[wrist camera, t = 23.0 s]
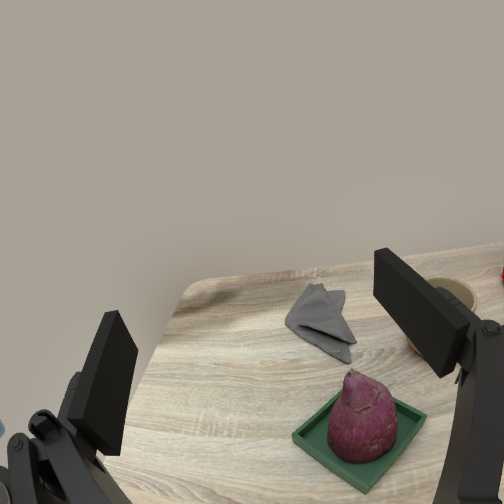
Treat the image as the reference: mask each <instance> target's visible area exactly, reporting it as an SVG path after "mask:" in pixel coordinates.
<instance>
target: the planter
mask: <svg viewBox="0 0 504 504" xmlns="http://www.w3.org/2000/svg"><path fill="white" fill-rule="evenodd" d="M424 279H425V280H426V281H427V282H428V283H429V284H430V285H432V286H433V287H434V288H436V287H439V286H440V287H442V288H445V289H447V290H449V291H450V292H451V293H452V294H453V295H455V296H456V298H458V299H459V300H460V301H461V302H462V303H464V304H465V305H466V306H467V307H468V308H469V309H470V310H471V311H472V312H473V313H475V310H476V306H477V298H476V295H475V293H474V291H473V290H472V288H471V287H470V286H469V285H467V284H466V283H464V282H463V281H461V280H458V279H456V278H453V277H449V276H429V277H425V278H424ZM407 339H408V342H409V344H410V345H411V347H412V348H413V349H414V350H415V351H416V352H417V353H419V354H420V355H421V353H420V352H419V351H418V350H417V348H416V347H415V346H414V344H413V343H412V342H411V341H410V339H409V338H408V337H407Z"/></svg>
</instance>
